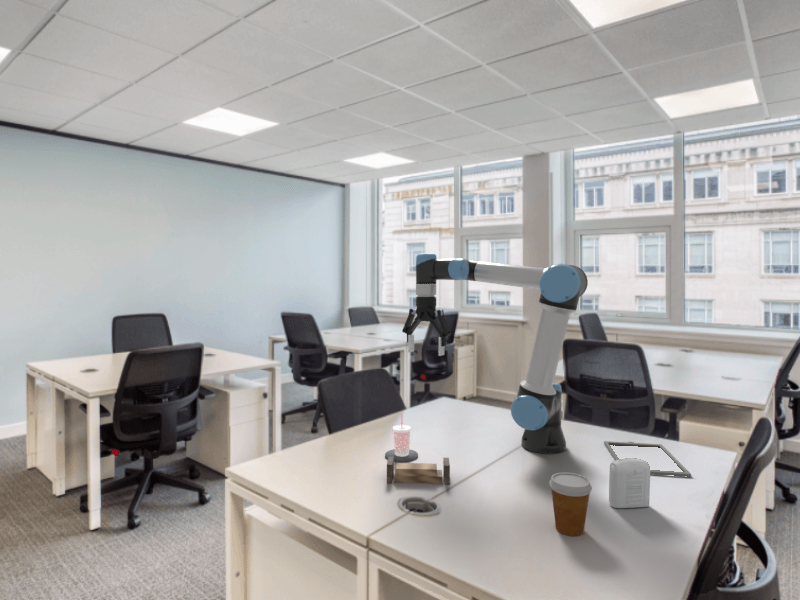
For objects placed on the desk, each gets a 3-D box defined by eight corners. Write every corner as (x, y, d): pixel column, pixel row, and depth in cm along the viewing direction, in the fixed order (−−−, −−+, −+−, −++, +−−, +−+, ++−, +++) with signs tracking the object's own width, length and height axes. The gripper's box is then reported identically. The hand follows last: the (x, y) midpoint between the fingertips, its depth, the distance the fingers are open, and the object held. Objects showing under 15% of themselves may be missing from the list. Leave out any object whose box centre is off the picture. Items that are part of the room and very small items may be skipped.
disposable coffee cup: (542, 520, 121) (543, 472, 120) (580, 518, 121) (580, 471, 121) (558, 541, 111) (558, 488, 111) (598, 539, 112) (599, 487, 111)
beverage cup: (393, 450, 168) (393, 410, 167) (411, 451, 168) (411, 410, 167) (392, 457, 162) (392, 415, 161) (410, 457, 162) (410, 415, 161)
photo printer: (642, 500, 132) (642, 454, 131) (652, 507, 127) (653, 460, 127) (606, 502, 130) (606, 456, 130) (615, 510, 126) (616, 462, 125)
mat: (424, 454, 166) (424, 453, 166) (404, 464, 157) (404, 462, 157) (398, 448, 172) (398, 446, 172) (378, 457, 164) (378, 455, 164)
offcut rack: (448, 475, 148) (448, 457, 148) (449, 484, 142) (449, 465, 142) (388, 474, 149) (388, 456, 149) (386, 483, 143) (386, 464, 143)
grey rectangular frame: (622, 469, 150) (602, 438, 180) (622, 474, 150) (602, 442, 180) (691, 474, 147) (659, 441, 176) (691, 479, 147) (659, 446, 176)
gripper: (460, 296, 176) (460, 355, 177) (405, 295, 191) (405, 349, 192) (449, 297, 170) (449, 358, 171) (393, 295, 185) (393, 351, 186)
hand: (426, 353), depth 182 cm, fingers open, 13 cm apart
